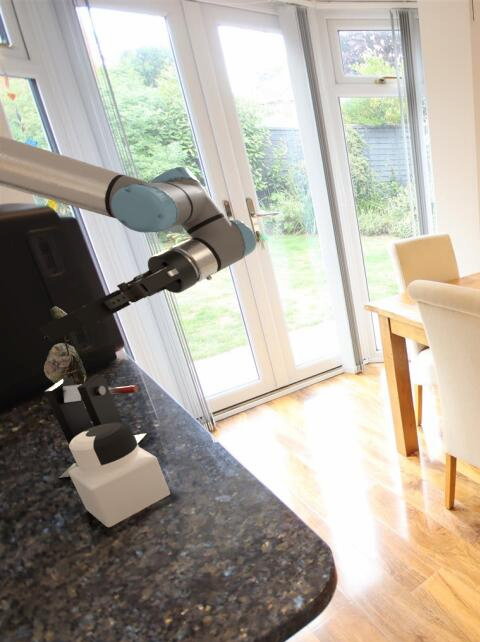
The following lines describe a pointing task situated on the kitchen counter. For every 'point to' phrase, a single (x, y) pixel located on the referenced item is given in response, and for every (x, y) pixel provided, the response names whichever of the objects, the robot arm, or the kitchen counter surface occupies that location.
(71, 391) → the lever
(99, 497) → the medicine bottle
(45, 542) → the kitchen counter surface
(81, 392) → the bracket
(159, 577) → the kitchen counter surface
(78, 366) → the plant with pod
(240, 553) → the kitchen counter surface
